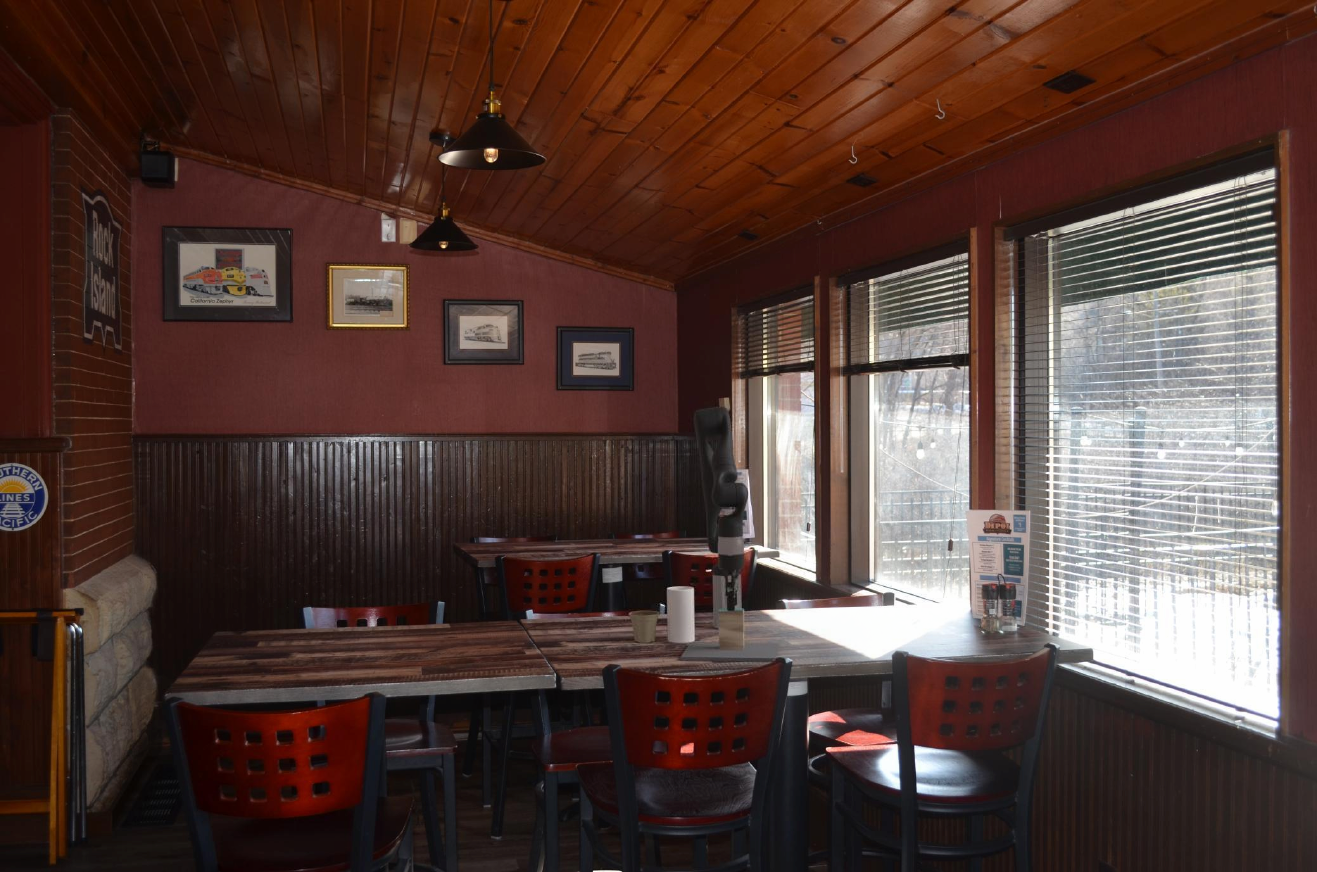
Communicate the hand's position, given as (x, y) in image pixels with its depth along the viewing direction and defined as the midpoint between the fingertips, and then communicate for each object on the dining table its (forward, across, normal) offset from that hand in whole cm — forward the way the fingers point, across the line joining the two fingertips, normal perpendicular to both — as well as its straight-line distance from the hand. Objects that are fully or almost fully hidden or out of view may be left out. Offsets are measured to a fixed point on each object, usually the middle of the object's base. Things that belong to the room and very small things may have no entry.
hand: (732, 608), depth 310 cm
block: (+11, 0, 0) cm, 11 cm away
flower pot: (+13, -14, -28) cm, 34 cm away
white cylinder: (+13, -16, -17) cm, 27 cm away
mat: (+12, +3, 0) cm, 13 cm away
